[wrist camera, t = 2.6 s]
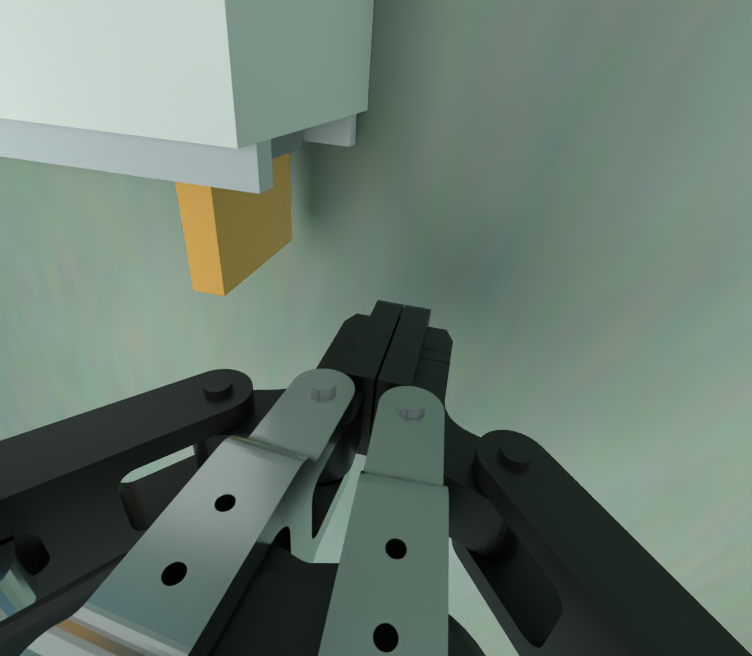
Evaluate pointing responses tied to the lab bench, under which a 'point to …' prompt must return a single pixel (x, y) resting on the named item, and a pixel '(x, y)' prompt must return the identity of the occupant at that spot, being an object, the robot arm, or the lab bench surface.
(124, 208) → the lab bench surface
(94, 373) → the lab bench surface
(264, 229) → the side door
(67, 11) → the camera housing
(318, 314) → the lab bench surface
